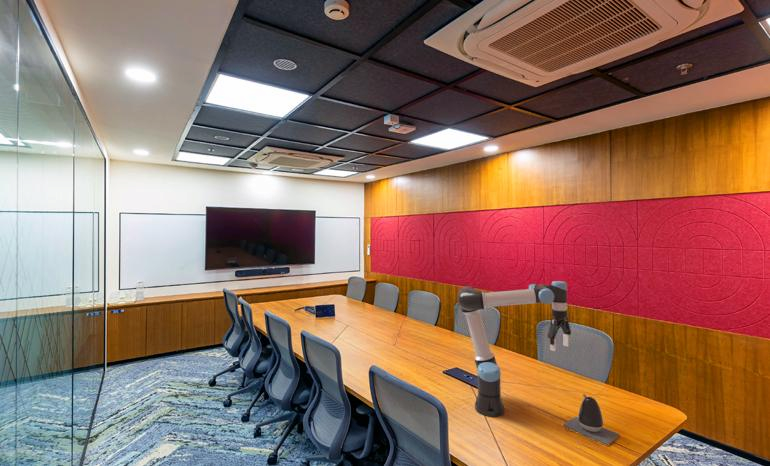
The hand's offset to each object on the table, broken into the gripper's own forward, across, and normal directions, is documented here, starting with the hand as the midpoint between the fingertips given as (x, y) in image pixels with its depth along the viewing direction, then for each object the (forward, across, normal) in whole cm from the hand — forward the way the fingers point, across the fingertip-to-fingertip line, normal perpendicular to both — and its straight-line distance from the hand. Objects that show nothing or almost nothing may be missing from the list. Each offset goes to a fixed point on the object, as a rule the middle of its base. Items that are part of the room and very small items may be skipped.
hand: (559, 348), depth 194 cm
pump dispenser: (+30, +14, +22) cm, 40 cm away
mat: (+31, +14, +22) cm, 41 cm away
